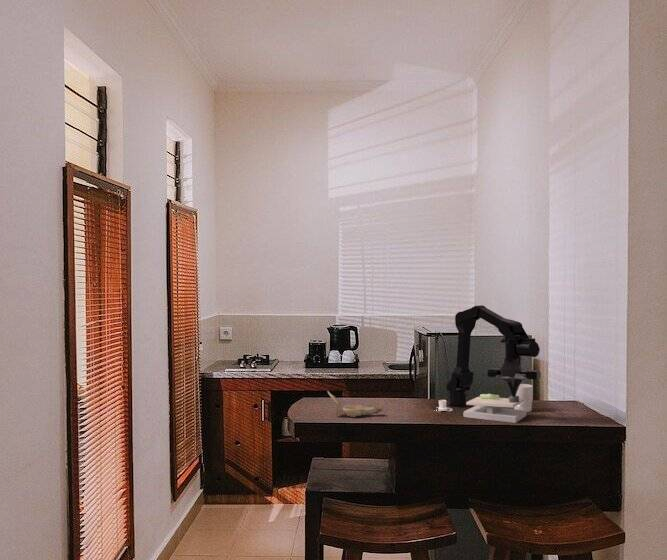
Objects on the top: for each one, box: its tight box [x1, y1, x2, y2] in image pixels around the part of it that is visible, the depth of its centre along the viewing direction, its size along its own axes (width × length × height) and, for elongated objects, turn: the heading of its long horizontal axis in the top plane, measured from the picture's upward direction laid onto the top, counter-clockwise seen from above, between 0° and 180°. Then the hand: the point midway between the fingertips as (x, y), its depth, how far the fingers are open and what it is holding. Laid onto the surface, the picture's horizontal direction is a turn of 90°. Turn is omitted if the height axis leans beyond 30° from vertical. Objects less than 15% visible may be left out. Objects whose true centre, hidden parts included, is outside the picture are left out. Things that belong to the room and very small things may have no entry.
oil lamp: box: [327, 390, 383, 417], centre depth 241 cm, size 9×21×10 cm, turn 91°
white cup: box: [513, 383, 534, 413], centre depth 247 cm, size 8×8×10 cm
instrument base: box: [462, 405, 528, 424], centre depth 237 cm, size 20×14×4 cm
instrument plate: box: [466, 393, 523, 409], centre depth 237 cm, size 18×13×3 cm
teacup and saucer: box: [435, 399, 454, 412], centre depth 250 cm, size 9×8×4 cm
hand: (514, 396), depth 233 cm, fingers closed, pressing on instrument plate
